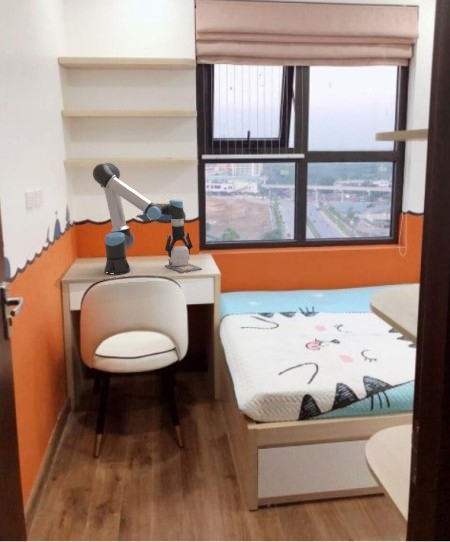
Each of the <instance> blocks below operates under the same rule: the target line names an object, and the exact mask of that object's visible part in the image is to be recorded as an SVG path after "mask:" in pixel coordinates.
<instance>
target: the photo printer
mask: <svg viewBox="0 0 450 542" xmlns="http://www.w3.org/2000/svg"><path fill="white" fill-rule="evenodd" d="M171 252H172V253H173V262H172V266H187V265H188V263H189V260H188V249H187V247H186V246H185V245H176V246H173V249H172V251H171Z"/></svg>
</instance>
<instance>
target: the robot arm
mask: <svg viewBox="0 0 450 542" xmlns="http://www.w3.org/2000/svg"><path fill="white" fill-rule="evenodd" d="M92 177H93V180H94V181H95V182H96V183H97V184H99V185H100V188H101V189H103V190H104V191H103V192H104V195H105V198H106V199H105V200H106V203H107V209H108V212H109V217H110V223H111V225H112V228H111V230H110V232H109V233H107V234H106V235H105V237H104V243H105V244H104V246H105V255H106V261H105V265H104V273H105V272H108V273H114V274H117V275H122V274H121V273H124V274H128V273H130V272H131V268H130V267H131V266H130V264H129V262H128V260H127V252H126V251H127V250H129V249H130V248H131V247H132V246H133V245H134V242H135V236H134V234H133V233H132V232H131V228H130V226H129V225H127V221H126V218H125V212H124V208H123V203H122V199H124V200H125V201H127V202H128V203H130V204H132V205H133V206H134V207H135V208H137V209H138V210H140V211H141V212H143V213H145V215H147V217H148V219H150V220H153V221H155V220H158V219H160V218H161V217H170V218H171V219H170V221H171V233H172V234H167V236H166V237H167V240H166V244H165V248H164V251H166V252H167V256H168V257H169V259H170V262H173V253H172V252H171V251H172V249H173V247H175V244H176V243H177V242H179V241H181V242H182V243H183V246H186V247H187V249H188V261H189V260H190V254H191V249H192V248H194V247H193V244H192V241H191V238H190V233H189V232H185V226H184V225H185V223H184V222H185V218H184V204H183V200H182V199H172V200H170V202H169V203H158V202H157V203H154V202H152V201H151V200H150V199H148V198H147V197H145V196H143V195H142V194H141V193H139V192H138V191H136V190H135V189H133V188H132V187H131V186H129V185H128V184H126V183H125V182H123V180H121V179H120V177H121V170H120V169H119V167H118V166H117V165H116V164H114V163H111V162H105V163H99V164H97V165H96V166H95V167H94V168H93V170H92ZM129 271H130V272H129ZM127 272H128V273H127Z"/></svg>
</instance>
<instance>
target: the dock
mask: <svg viewBox="0 0 450 542" xmlns="http://www.w3.org/2000/svg"><path fill="white" fill-rule="evenodd" d="M164 267H165V268H168V269H169V270H173V271H175V272H177V273H179V272H180V274H185V273H184V272H186V273H192V272H197V270H198V271H202V270H203V268H202V267H200V266H198V265H194V264H191V263H189V262H188V265H187V266H172V262H170V258H168V264H165V265H164ZM191 271H192V272H191Z"/></svg>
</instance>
